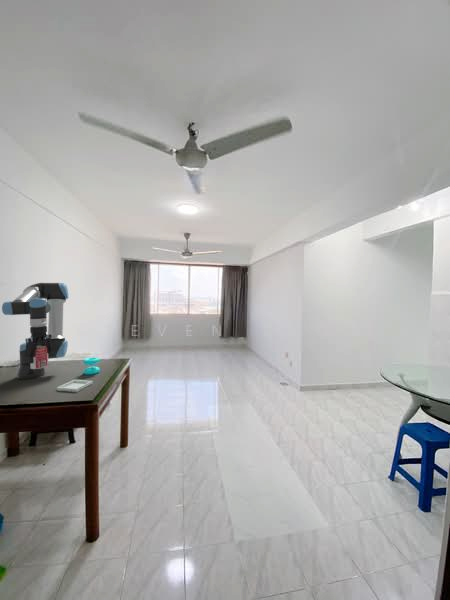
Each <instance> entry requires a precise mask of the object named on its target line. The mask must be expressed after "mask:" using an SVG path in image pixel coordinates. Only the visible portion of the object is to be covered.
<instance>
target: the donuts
mask: <svg viewBox="0 0 450 600" xmlns="http://www.w3.org/2000/svg"><path fill="white" fill-rule="evenodd" d="M99 362H100V358H99V357H95V356H94V357H93V356H91V357H87V358H85V359H84V360H83V362H82V363H83V364H84V365H86V366H88V367H86V368H84V370H83V374H84V375H88V376H89V375H95V374H98V373H99V372H100V370H101V369H100V367H98V366H92V365H96V364H98V363H99Z"/></svg>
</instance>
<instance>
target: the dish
mask: <svg viewBox="0 0 450 600" xmlns="http://www.w3.org/2000/svg"><path fill="white" fill-rule="evenodd" d="M93 381H94V380H83V379H73V380H70V381H68V382H66V383H64V384H62V385H59V386H57V387H56V391H57V392H67V393H68V392H70V393H78V392H79V391H82V390H83V389H86V388H88V387H89V386H91V385H93Z"/></svg>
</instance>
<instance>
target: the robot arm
mask: <svg viewBox="0 0 450 600" xmlns="http://www.w3.org/2000/svg"><path fill="white" fill-rule="evenodd" d="M69 295H70V294H69V289H68V286H67V284H66V283H64V282H63V283H62V282H37V283H34V284H31V285H29V286H27V287H26V288H24V289H23V291H22V293H21V294H20V295H19V296H18V297H16V298H15V299H14V300H12V301H4V302H3V304H2V305H1V311H2V313H3V314H4V315H6V316H16V315H17V316H20V315H29V326H30V328H29V331H30V334H31V335H30V337H28V338H26V337H25V342H23V343H21V344H20V345H19V350H18V351H19V368H18V370H17V374H16V378H17V379H18V380H29V379H35V378H38V377H43V376H44V375H45V374H46V369H45V367H44V368H41V369H36V357H34V355H35V352H36V348H37V346H40V345H42V346H45V347H46V348H47V366H48V365H49V359H60V358H64V357H65V356H66V354H67V352H68V345H69V344H68V341H67V340H66V338H65V337H64V335H63V332H64V331H63V329H64V327H63V326H64V304H65V303H66V301H67V300H68V299H69V298H70V297H69ZM47 314H48V320H47ZM47 325H48V326H47Z"/></svg>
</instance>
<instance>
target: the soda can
mask: <svg viewBox="0 0 450 600" xmlns="http://www.w3.org/2000/svg"><path fill="white" fill-rule="evenodd" d="M34 357H36V369H41V368H44V369H45V367H47V366H48V365H47V348H46V347H45V346H42V345H40V346H37V348H36V352H35V355H34Z"/></svg>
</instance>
